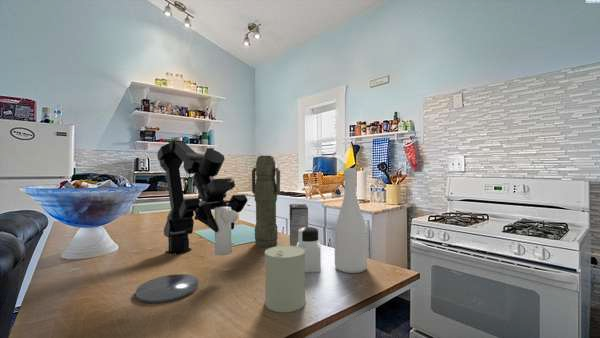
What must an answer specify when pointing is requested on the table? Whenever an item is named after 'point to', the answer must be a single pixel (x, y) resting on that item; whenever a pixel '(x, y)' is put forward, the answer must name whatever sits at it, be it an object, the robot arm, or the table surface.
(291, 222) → the coffee box
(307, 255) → the medicine bottle
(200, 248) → the table surface
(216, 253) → the duct elbow
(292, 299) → the can
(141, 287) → the flange plate
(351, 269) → the wine bottle
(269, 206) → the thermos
